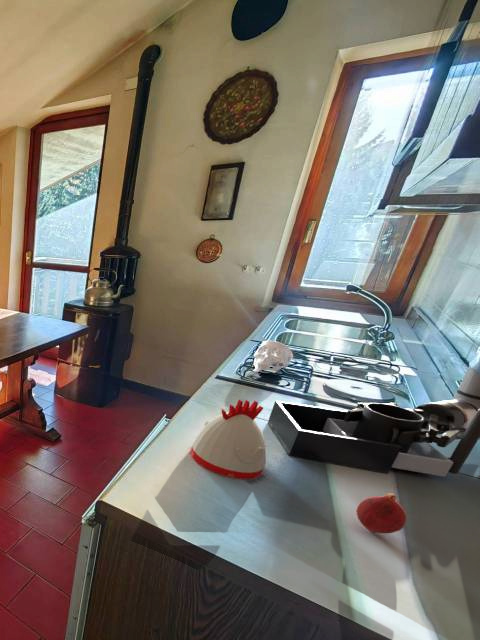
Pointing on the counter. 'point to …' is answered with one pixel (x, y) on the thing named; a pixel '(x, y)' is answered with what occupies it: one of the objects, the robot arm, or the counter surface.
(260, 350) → the pale pink rounded lump
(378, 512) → the onion
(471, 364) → the robot arm
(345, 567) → the counter surface
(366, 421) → the mug
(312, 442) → the black open box
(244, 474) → the kitchen timer
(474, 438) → the white boxy piece
